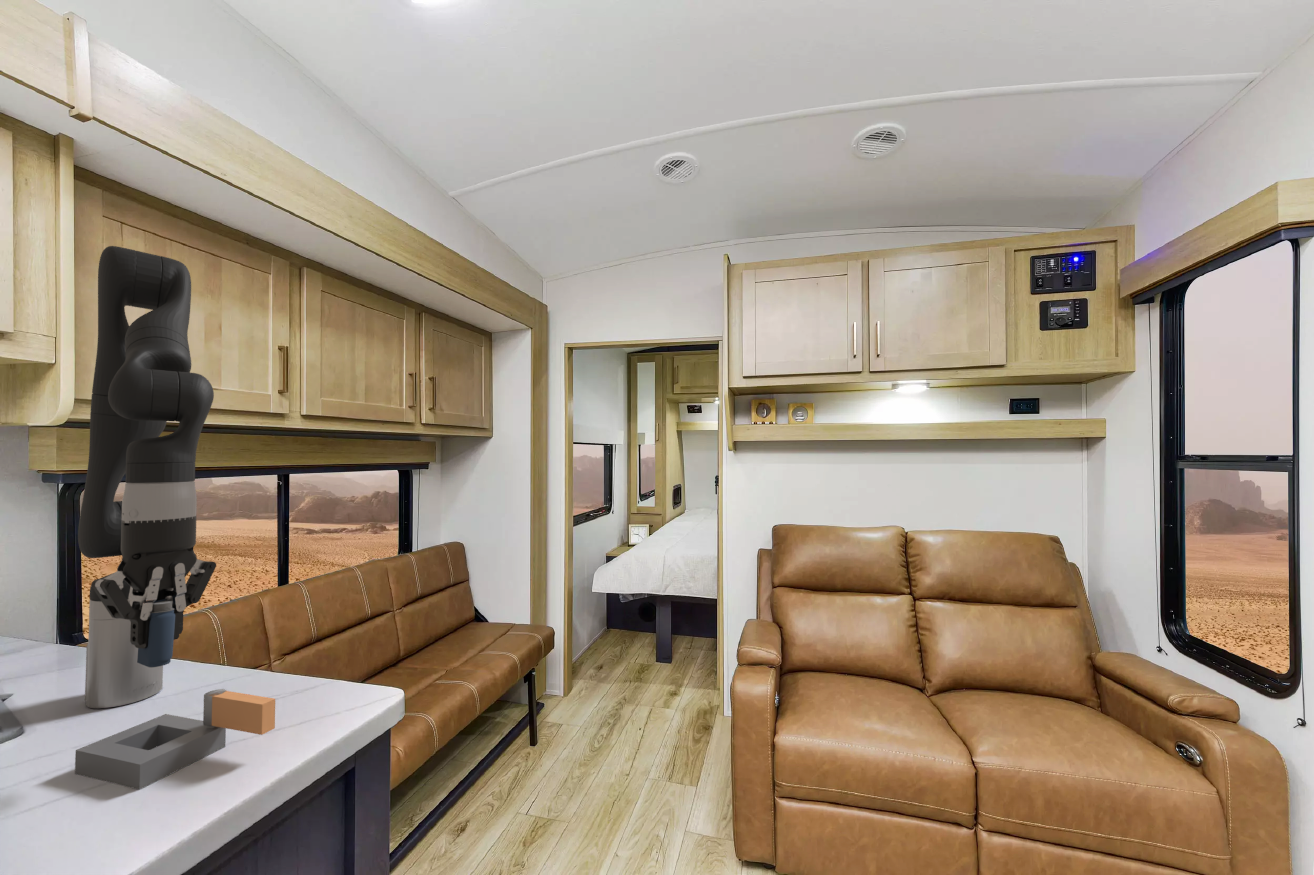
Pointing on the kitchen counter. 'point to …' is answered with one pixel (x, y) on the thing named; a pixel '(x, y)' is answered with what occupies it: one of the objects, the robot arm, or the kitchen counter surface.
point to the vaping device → (159, 634)
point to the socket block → (149, 751)
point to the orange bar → (239, 711)
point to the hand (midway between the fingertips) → (156, 642)
